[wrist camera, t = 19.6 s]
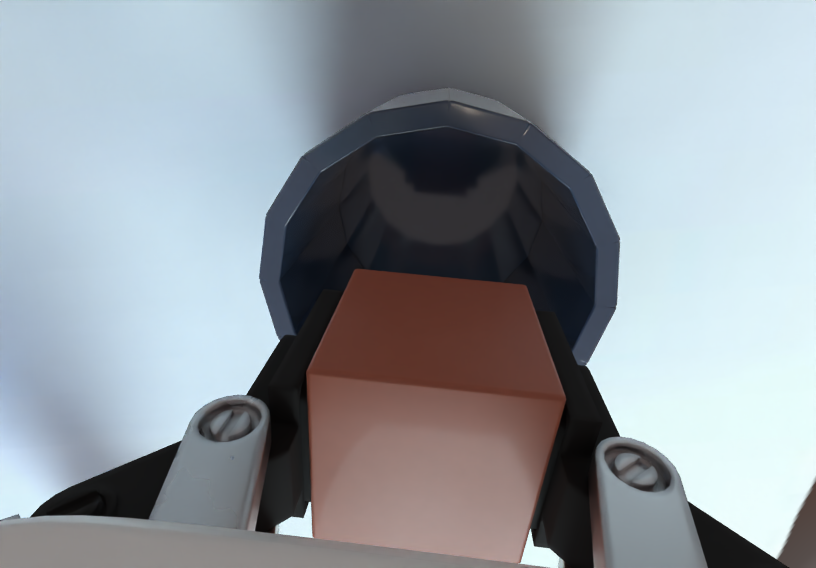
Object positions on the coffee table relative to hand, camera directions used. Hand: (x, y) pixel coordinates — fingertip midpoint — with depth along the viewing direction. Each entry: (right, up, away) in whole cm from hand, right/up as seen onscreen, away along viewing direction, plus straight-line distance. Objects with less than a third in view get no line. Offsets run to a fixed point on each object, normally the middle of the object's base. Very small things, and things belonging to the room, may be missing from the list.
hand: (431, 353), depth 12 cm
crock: (+1, +6, +12) cm, 13 cm away
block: (0, 0, 0) cm, 0 cm away
